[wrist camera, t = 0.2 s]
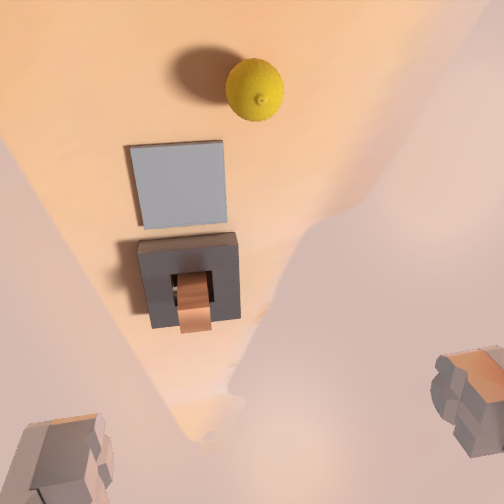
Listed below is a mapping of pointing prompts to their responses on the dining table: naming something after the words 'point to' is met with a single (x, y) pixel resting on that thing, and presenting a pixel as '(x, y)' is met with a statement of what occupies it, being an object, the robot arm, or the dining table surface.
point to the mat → (180, 183)
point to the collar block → (185, 261)
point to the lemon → (254, 89)
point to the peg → (193, 302)
